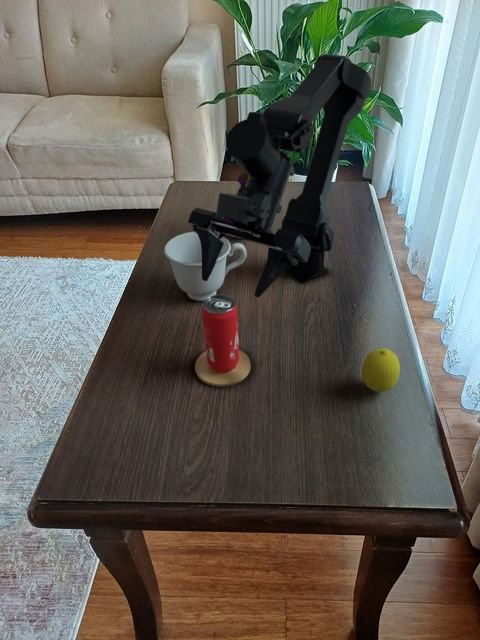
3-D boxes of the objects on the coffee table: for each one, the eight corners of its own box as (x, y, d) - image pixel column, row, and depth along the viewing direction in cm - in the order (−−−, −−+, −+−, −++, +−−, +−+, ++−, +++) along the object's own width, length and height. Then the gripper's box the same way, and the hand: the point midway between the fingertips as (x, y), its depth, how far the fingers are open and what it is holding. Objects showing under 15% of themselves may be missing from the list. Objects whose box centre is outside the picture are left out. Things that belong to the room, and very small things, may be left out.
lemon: (395, 404, 78) (404, 365, 73) (357, 399, 79) (364, 360, 74) (395, 379, 82) (404, 341, 77) (360, 375, 83) (366, 336, 78)
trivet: (231, 342, 90) (231, 339, 89) (261, 372, 84) (261, 369, 84) (185, 362, 86) (185, 359, 85) (213, 395, 80) (212, 392, 80)
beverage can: (213, 351, 87) (207, 291, 79) (243, 355, 86) (240, 295, 78) (203, 372, 83) (196, 311, 75) (234, 376, 82) (231, 316, 74)
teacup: (251, 305, 98) (250, 259, 91) (171, 314, 96) (164, 267, 89) (243, 271, 107) (241, 227, 100) (169, 278, 105) (163, 233, 98)
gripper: (187, 154, 74) (150, 258, 74) (306, 179, 67) (266, 293, 67) (220, 186, 85) (188, 277, 85) (326, 211, 78) (291, 310, 78)
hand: (229, 288), depth 78 cm, fingers open, 9 cm apart
